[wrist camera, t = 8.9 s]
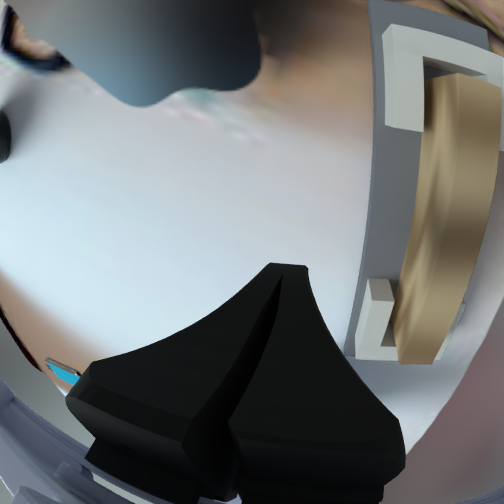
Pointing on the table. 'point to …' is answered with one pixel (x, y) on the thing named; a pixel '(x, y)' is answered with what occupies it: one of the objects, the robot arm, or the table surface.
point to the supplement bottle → (4, 137)
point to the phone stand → (63, 371)
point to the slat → (446, 211)
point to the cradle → (405, 151)
